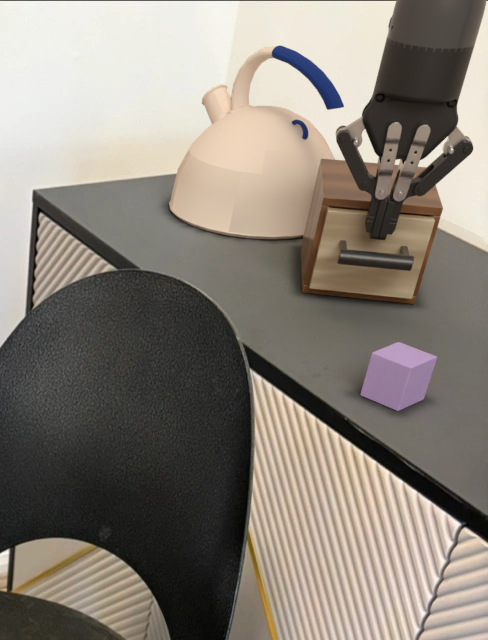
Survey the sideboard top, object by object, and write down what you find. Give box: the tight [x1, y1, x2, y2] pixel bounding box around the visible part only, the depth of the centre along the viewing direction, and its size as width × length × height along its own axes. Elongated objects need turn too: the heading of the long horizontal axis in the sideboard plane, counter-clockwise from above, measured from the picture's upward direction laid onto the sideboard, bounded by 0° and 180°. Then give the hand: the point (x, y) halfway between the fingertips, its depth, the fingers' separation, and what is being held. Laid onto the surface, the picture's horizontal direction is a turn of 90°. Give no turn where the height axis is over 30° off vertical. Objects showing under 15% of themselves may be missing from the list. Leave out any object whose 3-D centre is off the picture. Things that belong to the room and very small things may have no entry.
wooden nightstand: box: [300, 159, 444, 305], centre depth 120 cm, size 15×12×10 cm
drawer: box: [309, 206, 435, 299], centre depth 117 cm, size 18×10×8 cm, turn 167°
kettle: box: [168, 45, 345, 240], centre depth 132 cm, size 20×21×18 cm
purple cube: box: [359, 341, 438, 412], centre depth 98 cm, size 4×4×4 cm
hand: (377, 237), depth 110 cm, fingers closed
